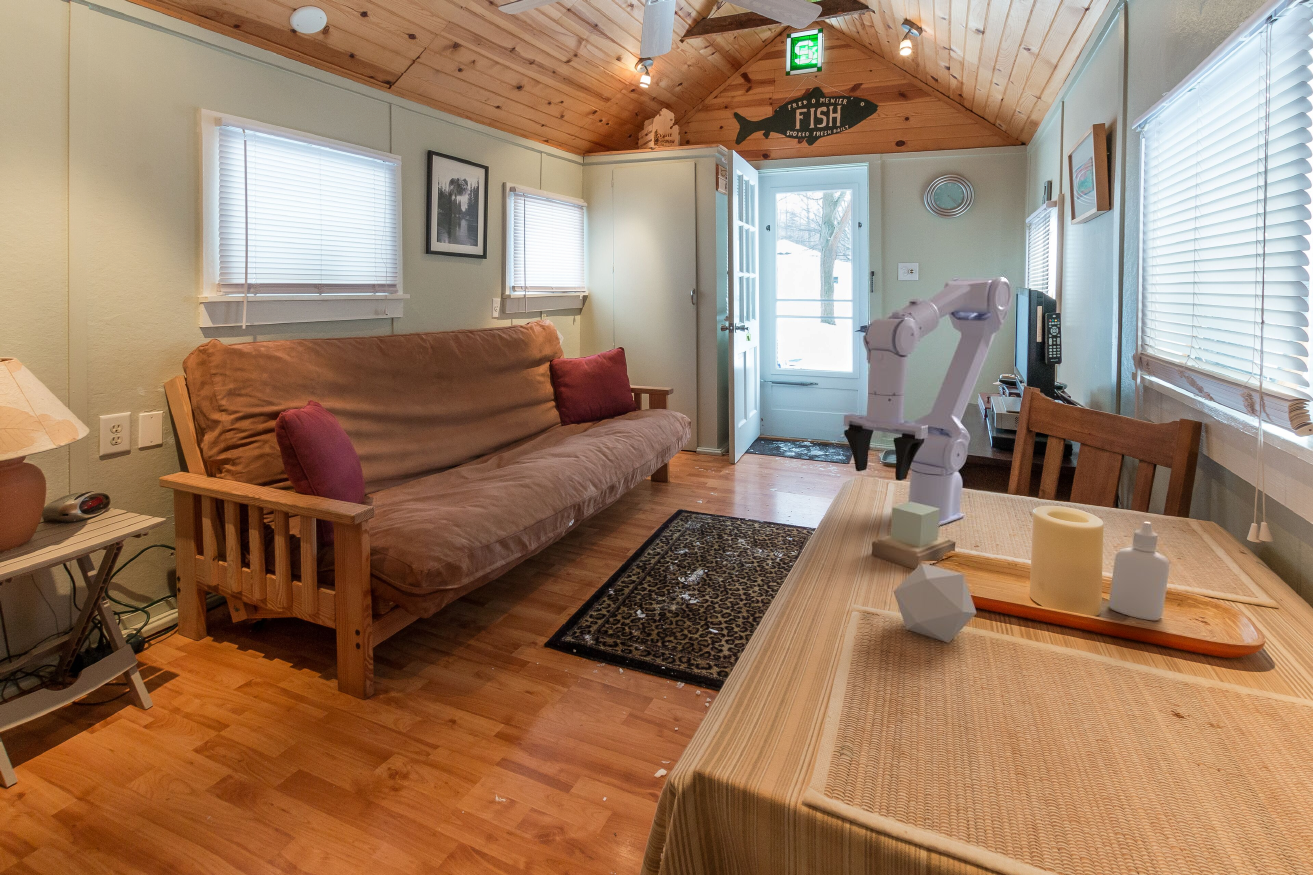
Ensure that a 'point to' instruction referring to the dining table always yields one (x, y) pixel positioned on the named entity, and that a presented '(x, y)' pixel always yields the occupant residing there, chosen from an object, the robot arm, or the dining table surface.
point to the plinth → (911, 551)
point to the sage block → (915, 523)
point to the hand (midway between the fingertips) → (880, 474)
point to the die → (935, 602)
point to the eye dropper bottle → (1140, 578)
